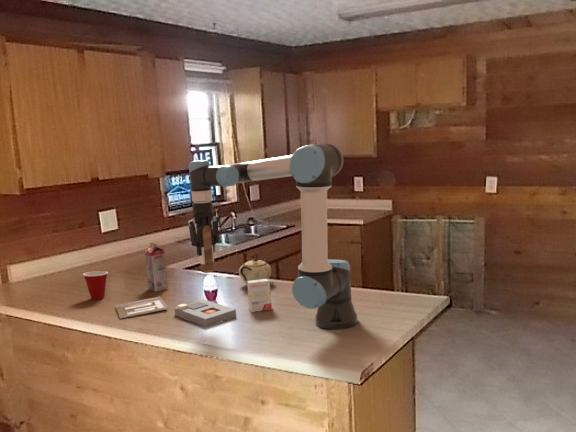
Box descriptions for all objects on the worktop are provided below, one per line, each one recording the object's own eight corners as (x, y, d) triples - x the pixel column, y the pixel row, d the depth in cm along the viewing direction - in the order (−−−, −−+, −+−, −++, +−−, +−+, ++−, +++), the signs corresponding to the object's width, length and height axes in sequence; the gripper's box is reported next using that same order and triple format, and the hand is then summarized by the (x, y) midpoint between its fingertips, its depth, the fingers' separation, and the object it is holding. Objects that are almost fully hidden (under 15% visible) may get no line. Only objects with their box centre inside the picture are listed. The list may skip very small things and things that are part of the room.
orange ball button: (218, 314, 220) (218, 311, 220) (209, 317, 217) (209, 314, 217) (212, 311, 223) (212, 309, 223) (202, 314, 220) (202, 312, 220)
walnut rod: (213, 271, 218) (210, 224, 215) (206, 273, 215) (202, 226, 213) (208, 270, 220) (205, 224, 217) (201, 271, 218) (197, 225, 215)
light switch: (160, 300, 250) (116, 309, 243) (159, 296, 249) (115, 305, 242) (167, 311, 233) (120, 321, 227) (167, 306, 233) (119, 316, 226)
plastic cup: (115, 296, 261) (112, 270, 259) (96, 302, 252) (92, 276, 250) (100, 293, 267) (97, 268, 265) (80, 299, 258) (77, 274, 256)
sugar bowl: (257, 278, 276) (254, 248, 274) (281, 281, 268) (279, 250, 265) (229, 288, 261) (227, 256, 259) (255, 292, 252) (252, 259, 250)
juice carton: (155, 291, 264) (150, 245, 261) (148, 289, 269) (143, 243, 266) (167, 288, 268) (163, 242, 265) (160, 286, 273) (156, 241, 270)
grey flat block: (236, 317, 220) (235, 306, 219) (206, 326, 211) (205, 316, 210) (204, 306, 236) (203, 296, 235) (175, 315, 227) (174, 305, 226)
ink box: (269, 306, 231) (267, 277, 229) (272, 309, 226) (270, 280, 224) (248, 308, 229) (246, 280, 227) (250, 312, 224) (248, 283, 223)
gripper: (214, 198, 222) (218, 257, 225) (177, 203, 211) (183, 265, 214) (225, 199, 216) (230, 259, 220) (188, 205, 205) (193, 268, 209)
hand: (206, 262), depth 217 cm, fingers closed on walnut rod, 3 cm apart
